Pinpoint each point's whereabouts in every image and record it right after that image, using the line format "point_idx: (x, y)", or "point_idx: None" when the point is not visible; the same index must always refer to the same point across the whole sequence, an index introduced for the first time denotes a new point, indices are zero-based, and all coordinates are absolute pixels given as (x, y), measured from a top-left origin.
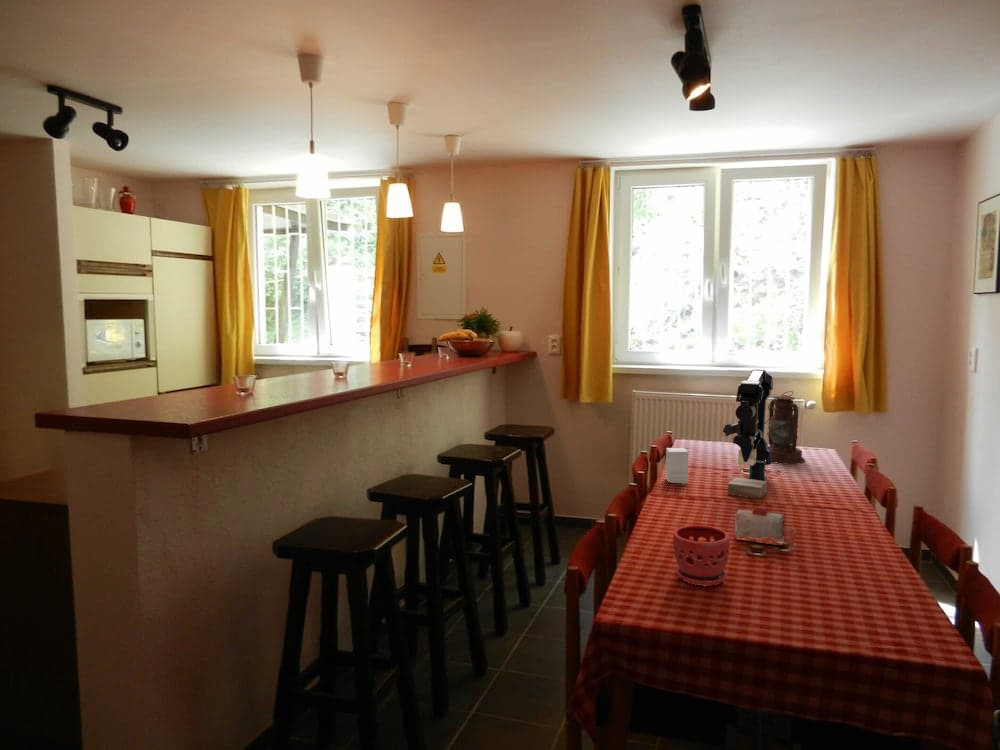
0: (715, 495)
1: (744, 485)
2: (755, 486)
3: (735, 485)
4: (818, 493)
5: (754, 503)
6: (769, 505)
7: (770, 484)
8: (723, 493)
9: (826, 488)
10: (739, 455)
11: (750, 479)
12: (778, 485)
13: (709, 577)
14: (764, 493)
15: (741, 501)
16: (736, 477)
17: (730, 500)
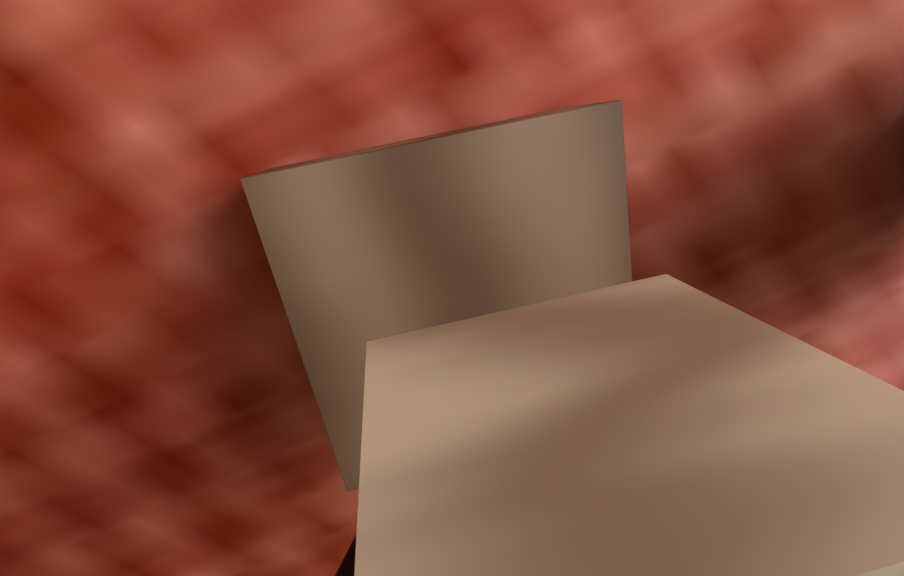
0: (133, 81)
1: (315, 352)
2: None
3: (272, 263)
4: None
5: (199, 450)
6: (244, 533)
7: (839, 285)
8: (280, 112)
9: None
10: (373, 504)
11: (613, 279)
12: (835, 338)
13: None
14: None
15: (161, 360)
16: (611, 118)
17: (100, 281)
